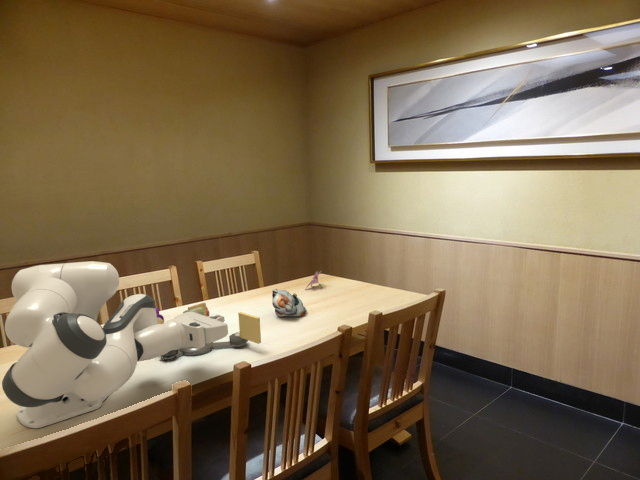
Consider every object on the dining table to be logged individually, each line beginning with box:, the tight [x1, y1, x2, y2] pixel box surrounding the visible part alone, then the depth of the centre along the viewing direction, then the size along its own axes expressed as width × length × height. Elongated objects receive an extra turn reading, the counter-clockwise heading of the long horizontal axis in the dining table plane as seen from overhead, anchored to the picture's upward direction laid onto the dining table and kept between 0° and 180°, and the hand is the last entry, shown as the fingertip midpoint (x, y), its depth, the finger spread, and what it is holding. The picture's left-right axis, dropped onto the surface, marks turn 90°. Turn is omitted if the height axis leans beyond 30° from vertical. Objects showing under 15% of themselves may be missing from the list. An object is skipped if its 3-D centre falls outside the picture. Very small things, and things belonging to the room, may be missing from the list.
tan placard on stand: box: [228, 311, 262, 345], centre depth 159 cm, size 6×14×11 cm, turn 50°
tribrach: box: [157, 302, 246, 362], centre depth 159 cm, size 26×23×15 cm
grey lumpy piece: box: [271, 288, 308, 318], centre depth 191 cm, size 15×12×14 cm
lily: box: [305, 270, 323, 290], centre depth 231 cm, size 12×12×10 cm
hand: (221, 317), depth 145 cm, fingers closed
